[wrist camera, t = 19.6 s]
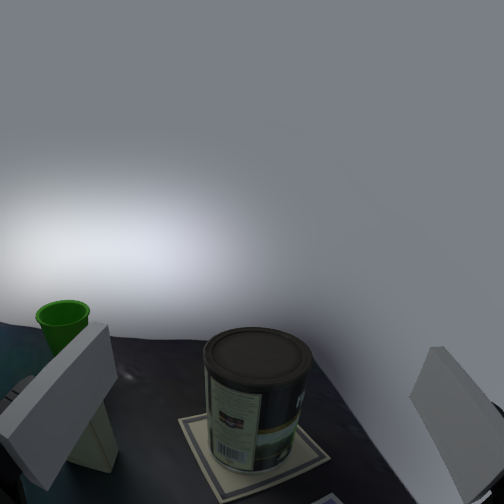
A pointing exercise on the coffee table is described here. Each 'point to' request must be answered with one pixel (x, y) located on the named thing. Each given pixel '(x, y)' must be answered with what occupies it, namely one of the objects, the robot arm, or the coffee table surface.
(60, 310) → the cup
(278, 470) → the cream square tile
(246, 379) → the coffee can
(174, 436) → the coffee table surface
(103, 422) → the skincare box
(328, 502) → the ink pad
